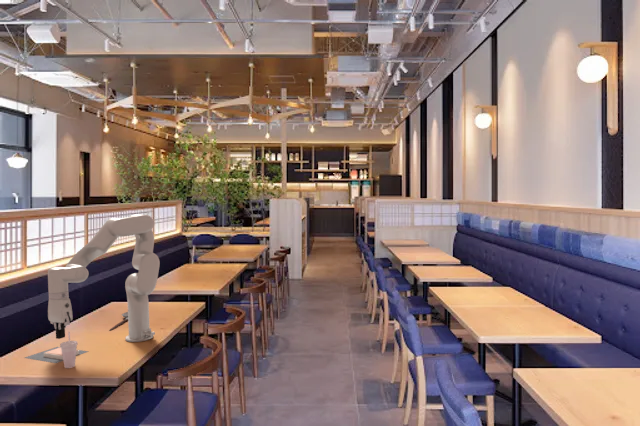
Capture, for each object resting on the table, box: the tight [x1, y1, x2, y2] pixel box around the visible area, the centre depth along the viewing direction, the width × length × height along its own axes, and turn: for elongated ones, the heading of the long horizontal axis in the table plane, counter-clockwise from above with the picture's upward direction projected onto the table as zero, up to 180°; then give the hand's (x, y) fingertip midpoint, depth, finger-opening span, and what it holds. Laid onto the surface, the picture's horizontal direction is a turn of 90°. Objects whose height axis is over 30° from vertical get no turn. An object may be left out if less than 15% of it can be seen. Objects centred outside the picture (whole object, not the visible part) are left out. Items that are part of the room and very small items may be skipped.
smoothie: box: [59, 331, 79, 369], centre depth 196 cm, size 6×6×14 cm
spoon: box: [108, 311, 128, 332], centre depth 265 cm, size 11×33×3 cm, turn 178°
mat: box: [24, 346, 89, 364], centre depth 211 cm, size 20×16×1 cm
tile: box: [44, 346, 80, 360], centre depth 209 cm, size 2×8×12 cm
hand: (60, 337), depth 209 cm, fingers closed
